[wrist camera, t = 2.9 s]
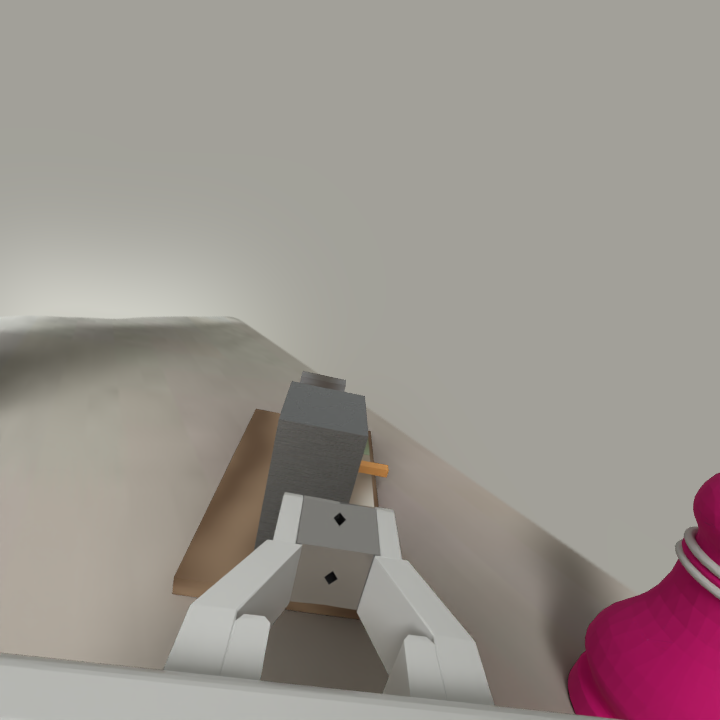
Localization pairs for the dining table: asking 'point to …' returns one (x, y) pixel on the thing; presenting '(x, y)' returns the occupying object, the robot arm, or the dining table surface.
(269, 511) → the brushed steel block
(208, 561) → the gauge bench
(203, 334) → the dining table surface
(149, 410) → the dining table surface
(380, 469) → the wood and grey stick
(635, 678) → the pepper mill
